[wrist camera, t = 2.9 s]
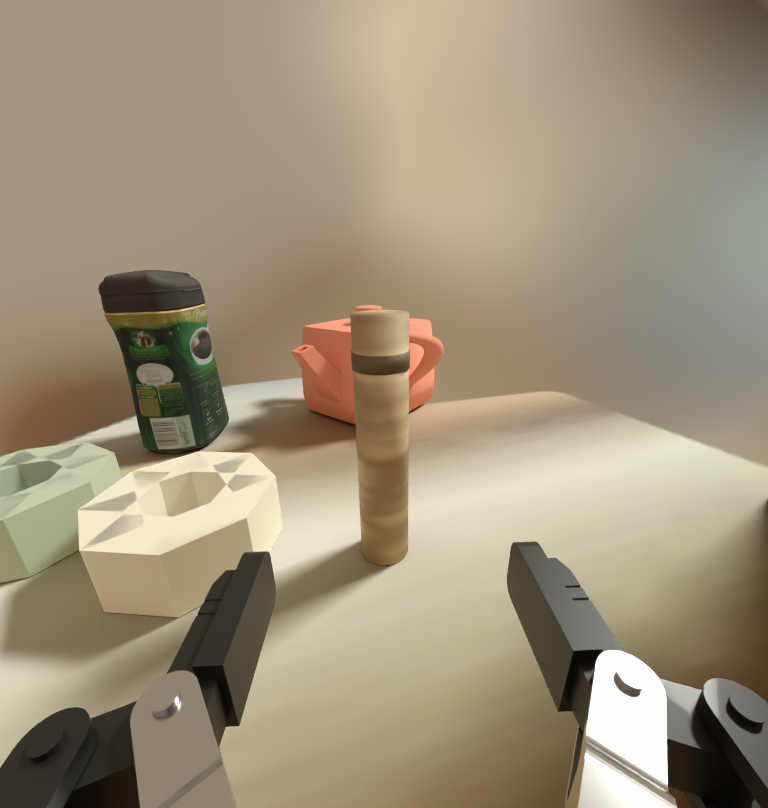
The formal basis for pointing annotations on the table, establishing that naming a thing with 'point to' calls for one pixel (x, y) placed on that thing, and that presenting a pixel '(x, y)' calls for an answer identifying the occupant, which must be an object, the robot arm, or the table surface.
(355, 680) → the table surface
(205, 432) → the coffee jar
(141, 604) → the cream octagonal ring
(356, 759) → the table surface
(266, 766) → the table surface
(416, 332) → the teapot
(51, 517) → the sage bead
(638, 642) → the table surface
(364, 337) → the grooved wooden dowel
